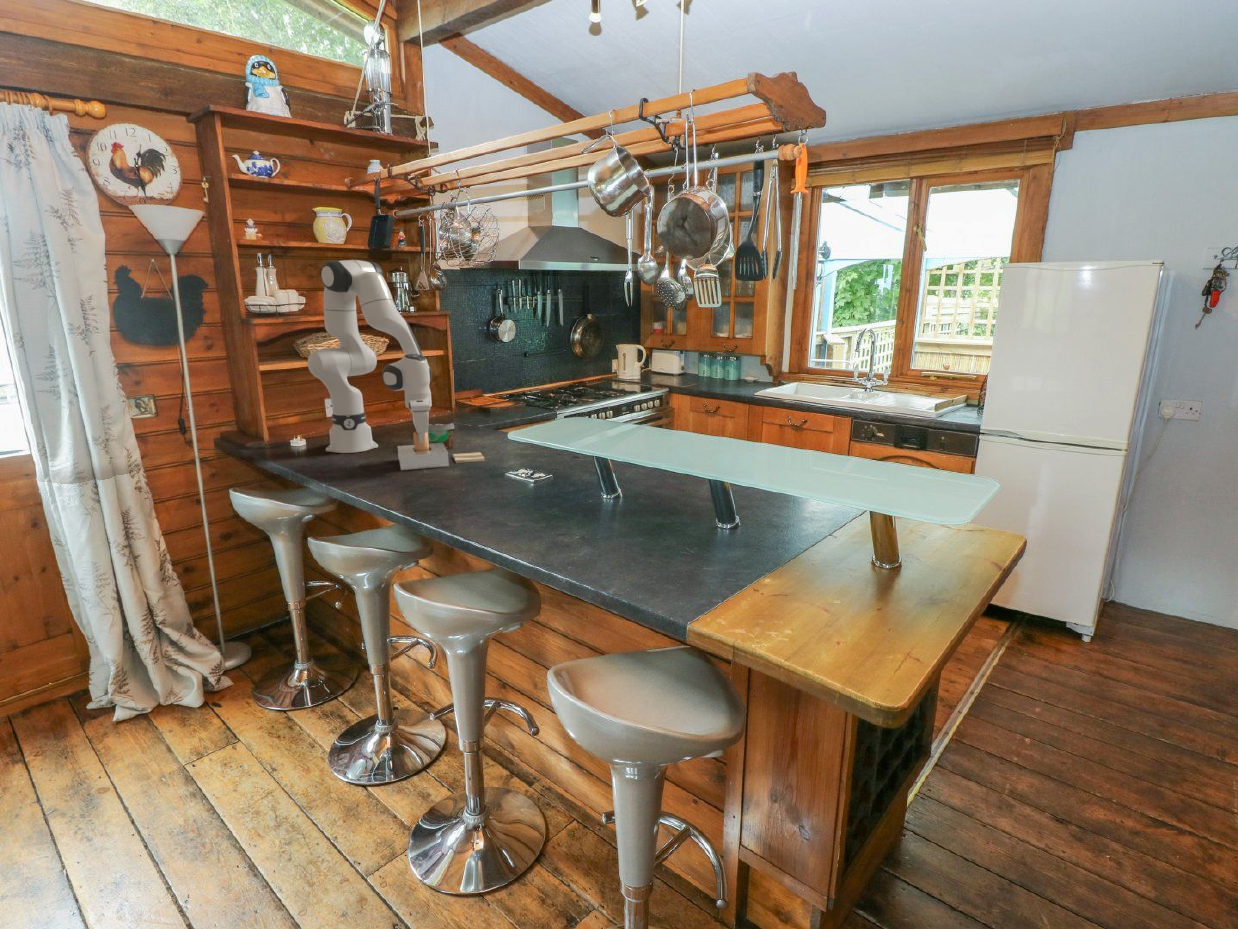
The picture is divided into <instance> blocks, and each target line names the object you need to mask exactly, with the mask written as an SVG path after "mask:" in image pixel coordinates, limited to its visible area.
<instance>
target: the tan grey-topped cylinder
mask: <svg viewBox="0 0 1238 929" xmlns="http://www.w3.org/2000/svg"><path fill="white" fill-rule="evenodd" d="M412 435H413V445H414V450H415V452H417V451H429V440H428V432H427V433H425V442H424V443H420V442H419V434H418V433H417V431H416V430H415V431H414V432H413V433H412Z"/></svg>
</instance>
